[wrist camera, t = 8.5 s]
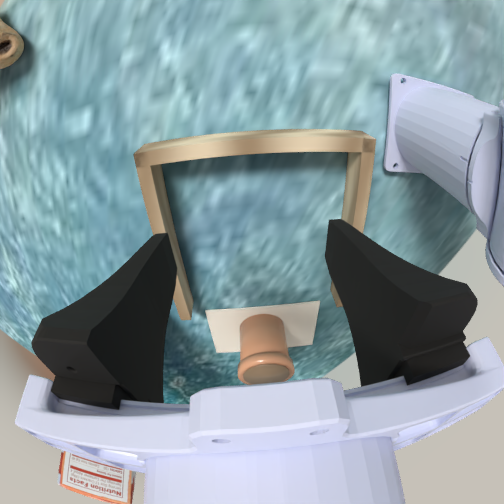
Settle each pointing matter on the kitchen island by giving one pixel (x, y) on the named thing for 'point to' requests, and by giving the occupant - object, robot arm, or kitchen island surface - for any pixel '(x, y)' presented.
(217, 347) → the potting tile
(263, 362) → the terracotta pot
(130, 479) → the cracker box
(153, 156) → the wooden u-shaped frame
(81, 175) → the kitchen island surface
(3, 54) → the pottery oil lamp
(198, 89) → the kitchen island surface
